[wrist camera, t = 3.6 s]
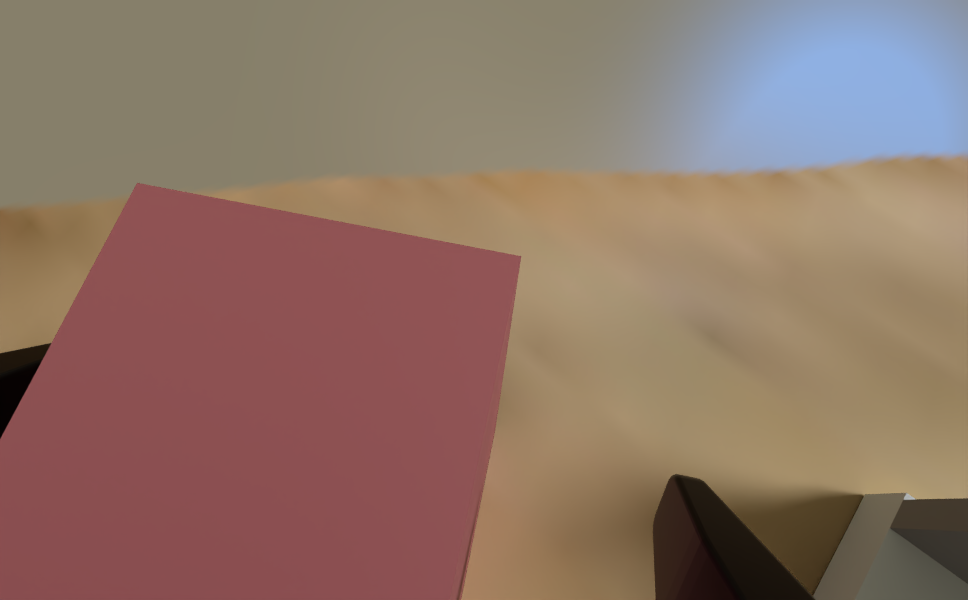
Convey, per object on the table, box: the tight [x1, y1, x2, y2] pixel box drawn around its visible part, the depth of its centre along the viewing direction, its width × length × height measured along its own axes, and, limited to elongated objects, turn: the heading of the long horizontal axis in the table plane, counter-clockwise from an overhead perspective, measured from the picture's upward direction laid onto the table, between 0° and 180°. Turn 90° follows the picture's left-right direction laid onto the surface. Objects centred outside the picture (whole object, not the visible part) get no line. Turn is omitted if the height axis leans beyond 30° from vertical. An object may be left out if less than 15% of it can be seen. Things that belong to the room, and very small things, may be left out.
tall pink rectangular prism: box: [0, 183, 521, 600], centre depth 9 cm, size 5×4×11 cm
